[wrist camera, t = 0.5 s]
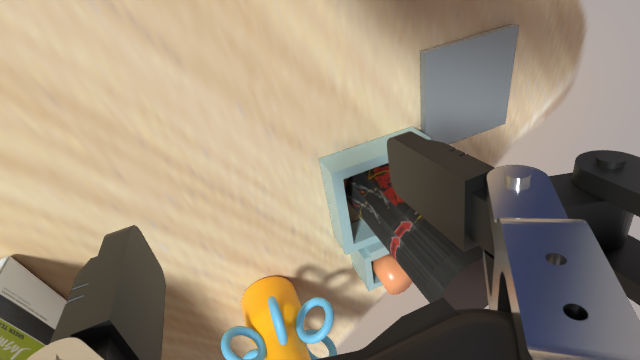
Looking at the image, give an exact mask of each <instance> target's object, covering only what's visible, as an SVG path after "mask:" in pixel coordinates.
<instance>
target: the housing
mask: <svg viewBox="0 0 640 360" xmlns="http://www.w3.org/2000/svg"><path fill="white" fill-rule="evenodd" d="M408 131H411V132H414V133H416V134H417V135H419V136H421V137H423V138H425V139H427V140H431V138H430V137H429V136H427V135H425V134H424V133H422V132H420V131H419V130H417V129H416V128H414V127H409V128H406V129H404V130H401V131H398V132H395V133H392V134H389V135H386V136H383V137H380V138H377V139H375V140H372V141H369V142H366V143H363V144H360V145H357V146H354V147H351V148H349V149H346V150H343V151H340V152H337V153H334V154H331V155H328V156H325V157H322V158H320V159H319V162H320V167H321V172H322V177H323V182H324V187H325V192H326V197H327V202H328V207H329V212H330V217H331V221H332V226H333V231H334V236H335V238H336V240H337V242H338V243H339V245H340V246H341V248H342V249H343V251H344V253H345V254H346V255H347V254H350V253H351V257H352V263H353V267H354V269H355V270H356V272H357V273H358V275H359V276H360V278H361V280H362V281H363V283H364V284H365V286H366V287H367V289H368V291H370V290H372V289H375V288H377V287H379V286H381V285H383V284H382V283H381V281H380V280H379V278H378V277H377V275H376V274H375V273H374V271H373V270H372V265H371V261H373V260H376V259H378V258H380V257H383V256H385V255H387V254H390V253H389V251H388V250H387V249H386V248H385V246H384V245H383V244H382V243H381V241H380V240H379V239H378V238H377V236H376V235H375V234H374V233H373V231H372V230H371V229H370V228H369V226H368V225H367V224H366V223H365V221H364V220H363V219H361V220H358V221H356V222H353V223H351V224H350V218H349V212H348V206H347V200H346V194H345V188H344V181H343V179H345V178H348V177H351V176H353V175H356V174H359V173H362V172H364V171H367V170H370V169H373V168H375V167H378V166H381V165H384V164H386V163H389V162H388V153H387V140H388V139H389V138H391V137H394V136H397V135H399V134H402V133H405V132H408Z"/></svg>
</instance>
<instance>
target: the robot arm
mask: <svg viewBox="0 0 640 360" xmlns="http://www.w3.org/2000/svg"><path fill="white" fill-rule="evenodd" d="M387 153H388V162H389V171H390V180H391V184H392V187H393V189H394V191H395V193H396V194H397V195H398V197H400V198H401V199H402V200H403V201H404V202H405V203H407V204H408V205H409V206H410V207H411V208H413V209H414V210H415V211H416V212H417V213H418V214H420V215H421V216H422V217H423V218H424V219H425V220H427V221H428V222H429V223H430V224H431V225H433V226H434V227H435V228H436V229H437V230H438V231H440V232H441V233H442V234H443V235H444V236H446V237H447V238H448V239H449V240H450V241H451V242H453V243H454V244H455V245H456V246H457V247H458V248H460V249H461V250H462V251H463V252H466V251H468V250H470V249H472V248H475V247H477V246H479V245H480V246H481V247H482V248H483V264H484V272H485V280H486V288H487V296H488V304H489V309H474V308H471V309H459V310H455V309H454V308H453V307H452V306H451V305H450V304H449V303H448V302H447V301H446V299H445V298H444V297H443V298H441V299H438V300H436V301H434V302H432V303H430V304H428V305H426V306H424V307H422V308H419V309H418V310H415V311H413V312H411V313H409V314H407V315H404V316H402V317H401V318H400V319H399V320H397V321H396V322H395V323H394V324H393V325H391V326H390V327H389V328H388V329H387V330H385V331H384V332H383V333H382V334H381V335H379V336H378V337H377V338H376V339H375V340H373V341H372V342H371V343H370V344H369V345H368V346H366V347H365V348H363V349H361V350H359V351H355V352H350V353H345V354H340V355H335V356H330V357H325V358H321V359H316V360H640V321H639V319H638V317H637V315H636V313H635V311H634V309H633V307H632V306H631V304H630V302H629V300H628V298H629V299H631V300H633V301H634V302H635V303H637V304H638V305H640V241H639V240H637V239H635V238H634V237H631V236H630V235H628V231H629V228H630V225H631V222H632V218H633V216H634V215H637V216H639V217H640V157H637V156H634V155H631V154H628V153H623V152H618V151H609V150H598V151H590V152H586V153H583V154H580V155H579V156H578V157H577V158H576V160H575V165H574V170H573V173H567V174H561V175H555V176H548V175H547V174H546V173H544V172H543V171H541V170H539V169H536V168H533V167H529V166H524V165H506V166H501V167H497V168H494V167H492V166H490V165H488V164H486V163H484V162H482V161H480V160H478V159H476V158H474V157H472V156H470V155H468V154H467V155H465V153H464V152H462V151H460V150H458V149H457V150H456V149H455V148H454V147H452V146H450V145H448V144H445V143H443V142H438V141H433V140H427V139H425V138H423V137H421V136H419V135H417V134H416V133H414V132H411V131H408V132H405V133H402V134H399V135H397V136H394V137H391V138H389V139H388V140H387ZM165 288H166V283H165V277H164V274H163V271H162V268H161V266H160V264H159V262H158V261H157V259H156V257H155V255H154V254H153V252H152V250H151V248H150V247H149V245H148V243H147V241H146V240H145V238H144V236H143V234H142V233H141V231H140V230H139V228H138V227H137V226H135V225H133V226H130V227H127V228H124V229H122V230H119V231H116V232H113V233H110V234H107V235H105V237H104V239H103V242H102V245H101V248H100V251H99V254H98V256H97V257H94V258H91V259H90V260H89V261H88V262H87V264H86V265H85V266H84V267H83V268H82V269H81V271H80V272H79V273H78V274H77V277H76V279H75V282H74V284H73V287H72V291H71V292H70V294H69V297H68V299H67V304H65V306H64V309H63V311H62V314H61V316H60V319H59V321H58V324H57V326H56V329H55V331H54V334H53V336H52V339H51V341H50V344H49V345H47V346H45V347H43V348H41V349H40V350H38V351H37V352H35V353H34V354H33V355H31V356H30V357H29V358H27V359H26V360H161V353H162V337H163V321H164V304H165ZM627 297H628V298H627Z"/></svg>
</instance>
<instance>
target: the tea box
mask: <svg viewBox="0 0 640 360" xmlns="http://www.w3.org/2000/svg"><path fill="white" fill-rule="evenodd" d="M65 304H67V301H66V300H65V299H64V298H63V297H61V296H60V295H59V294H57V293H56V292H55V291H54V290H52V289H51V288H50V287H49V286H47V285H46V284H45V283H43V282H42V281H41V280H40V279H38V278H37V277H36V276H35V275H33V274H32V273H31V272H30V271H28V270H27V269H26V268H25V267H23V266H22V265H21V264H19V263H18V262H17V261H16V260H14V259H13V258H12V257H10V256H7V257H5V258H3V259H0V360H26V359H27V358H29V357H30V356H31V355H33V354H34V353H35V352H37V351H38V350H40V349H41V348H43V347H45V346H47V345H49V344H50V341H51V339H52V336H53V334H54V331H55V329H56V326H57V324H58V321H59V319H60V316H61V314H62V311H63V309H64V306H65Z"/></svg>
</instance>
